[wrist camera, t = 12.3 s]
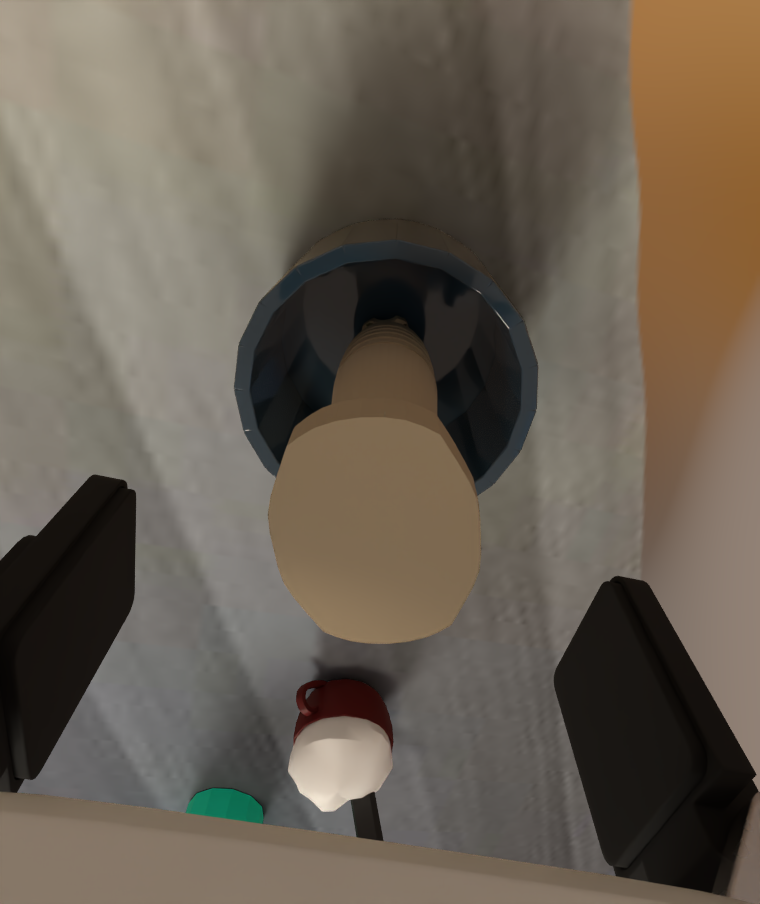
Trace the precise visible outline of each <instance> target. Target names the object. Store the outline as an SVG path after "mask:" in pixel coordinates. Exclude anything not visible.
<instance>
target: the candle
mask: <svg viewBox="0 0 760 904" xmlns="http://www.w3.org/2000/svg"><path fill="white" fill-rule="evenodd" d="M186 813H189V814H196V815H203V816H210V817H218V818H225V819H232V820H239V821H246V822H253V823H260V824H263V819H264V818H263V810H262V806H261V805H260V804H259V803H258V802H257V801H256V800H255V799H254V798H252V797H251V796H250V795H247V794H244V793H242V792H239V791H236V790H234V789H221V788H211V789H208V790H205V791H202V792H199V793H196V795H195V796H194V797H193V799H192V800H191V801H190V802H189V804H188V807H187V810H186Z"/></svg>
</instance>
